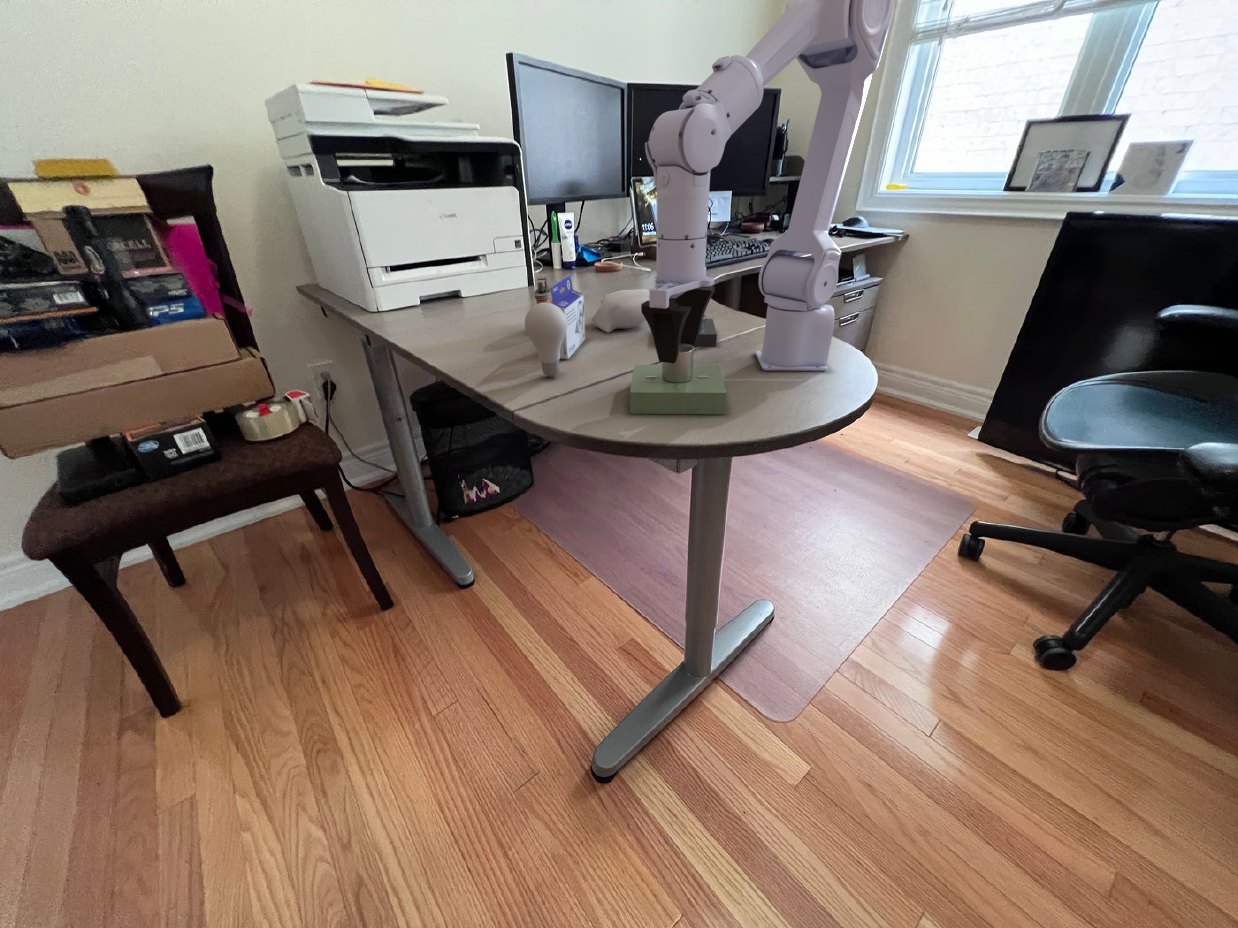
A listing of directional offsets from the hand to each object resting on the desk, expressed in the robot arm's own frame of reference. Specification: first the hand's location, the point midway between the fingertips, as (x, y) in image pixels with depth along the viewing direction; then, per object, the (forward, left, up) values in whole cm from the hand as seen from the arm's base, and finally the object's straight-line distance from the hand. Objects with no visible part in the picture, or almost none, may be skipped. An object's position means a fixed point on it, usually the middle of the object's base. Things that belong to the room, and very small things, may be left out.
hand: (678, 352), depth 63 cm
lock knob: (0, 0, -3) cm, 3 cm away
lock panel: (0, 0, -6) cm, 6 cm away
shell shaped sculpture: (+10, -36, -7) cm, 38 cm away
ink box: (+18, -21, -7) cm, 28 cm away
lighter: (+25, -33, -7) cm, 42 cm away
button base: (-2, -27, -6) cm, 28 cm away
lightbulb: (+19, -8, -7) cm, 22 cm away
